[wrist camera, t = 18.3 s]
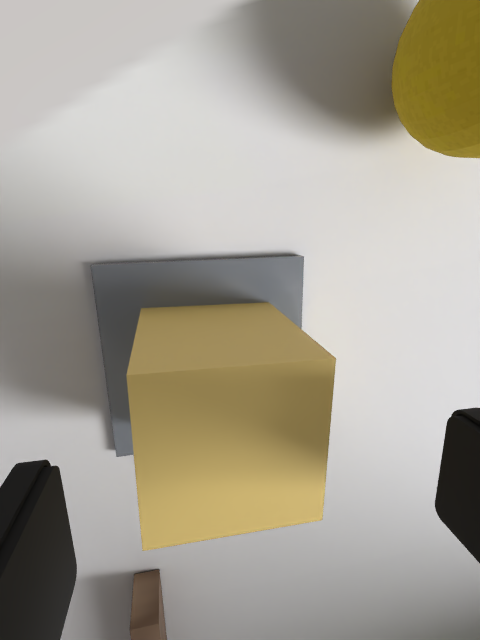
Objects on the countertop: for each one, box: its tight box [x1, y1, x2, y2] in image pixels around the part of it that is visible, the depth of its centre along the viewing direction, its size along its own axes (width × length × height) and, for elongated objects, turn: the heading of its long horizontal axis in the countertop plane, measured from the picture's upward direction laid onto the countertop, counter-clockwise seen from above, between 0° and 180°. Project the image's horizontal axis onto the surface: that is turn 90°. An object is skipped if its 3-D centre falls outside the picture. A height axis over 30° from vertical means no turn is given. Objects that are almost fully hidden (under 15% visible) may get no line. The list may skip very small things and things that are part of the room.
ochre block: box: [126, 302, 336, 551], centre depth 12 cm, size 5×5×6 cm
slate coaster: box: [91, 255, 304, 457], centre depth 15 cm, size 8×8×1 cm
